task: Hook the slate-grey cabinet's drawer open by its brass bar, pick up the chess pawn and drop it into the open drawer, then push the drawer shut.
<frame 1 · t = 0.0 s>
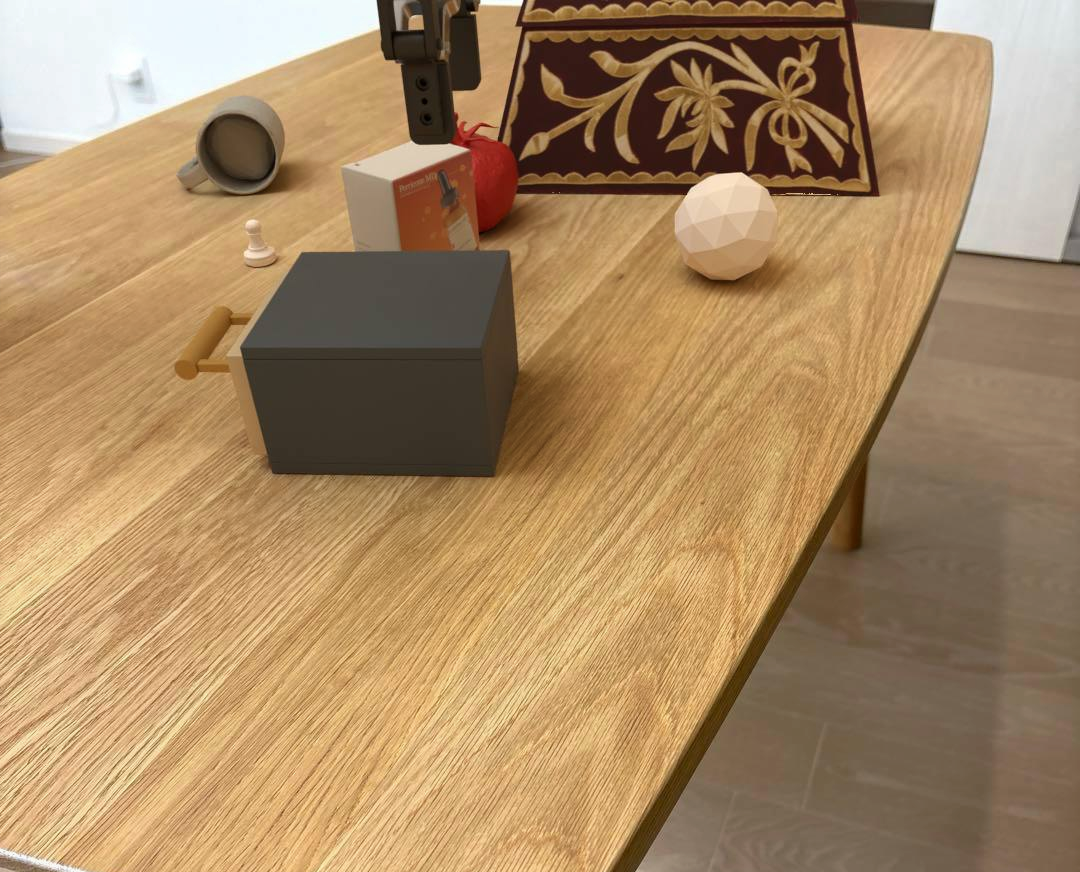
hand: (448, 114, 56), 19 cm above the table, tool pointing down, fingers open, 8 cm apart
small box: (424, 294, 83), on the table
chess pawn: (261, 263, 89), on the table
ceramic mug: (238, 184, 104), on the table
cabinet: (402, 418, 69), on the table
pomegranate: (465, 222, 94), on the table
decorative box: (683, 158, 103), on the table
drawer: (330, 359, 66), point 4 cm above the table, slide at 0.0 cm
geometric ball: (723, 276, 83), on the table
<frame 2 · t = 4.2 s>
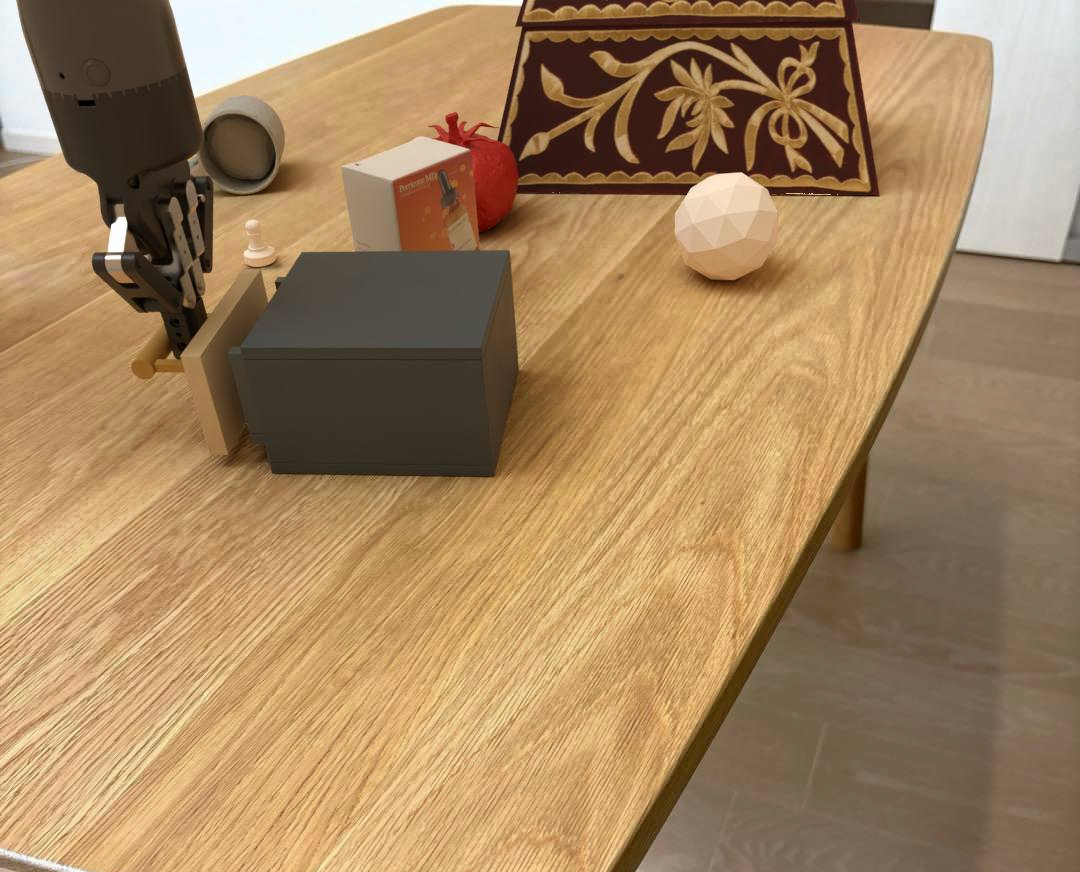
hand: (196, 356, 67), 4 cm above the table, tool pointing down, fingers closed
drawer: (288, 358, 67), point 4 cm above the table, slide at 2.7 cm, touching gripper
everything else where it was.
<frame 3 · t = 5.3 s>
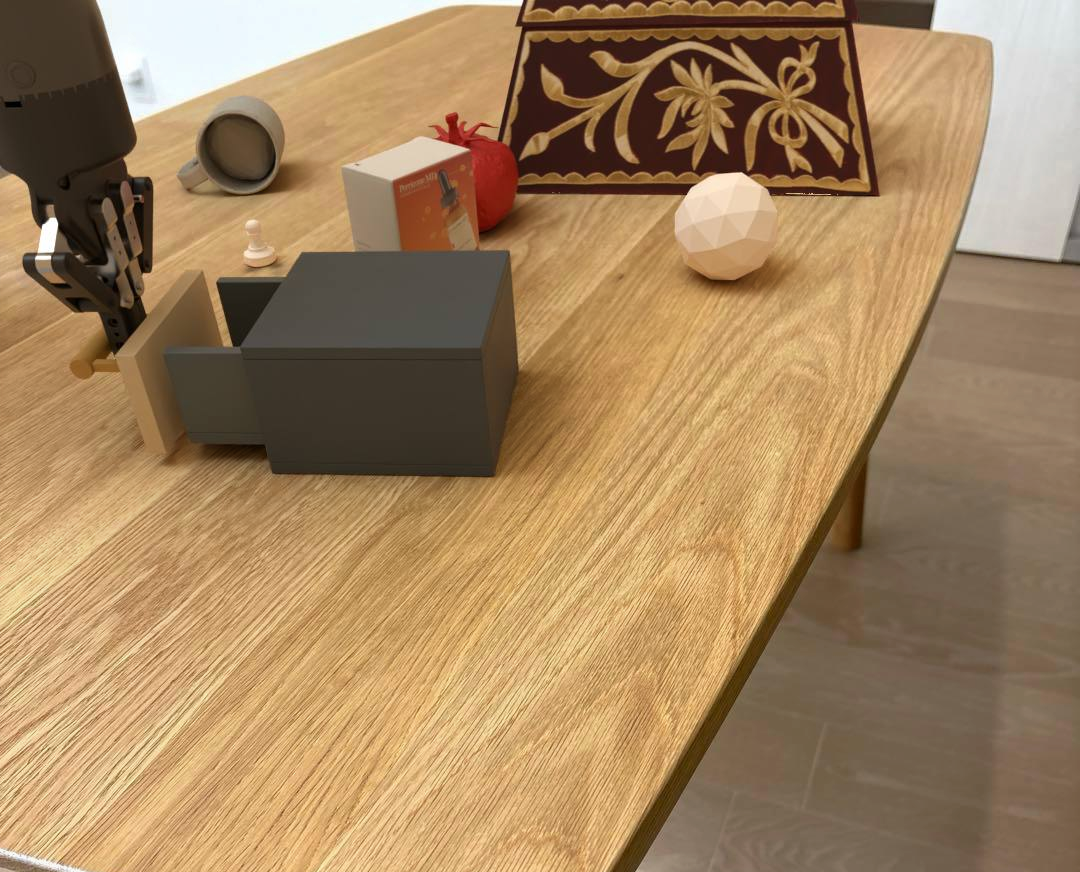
hand: (136, 355, 68), 4 cm above the table, tool pointing down, fingers closed
drawer: (228, 358, 67), point 4 cm above the table, slide at 6.6 cm, touching gripper
everything else where it was.
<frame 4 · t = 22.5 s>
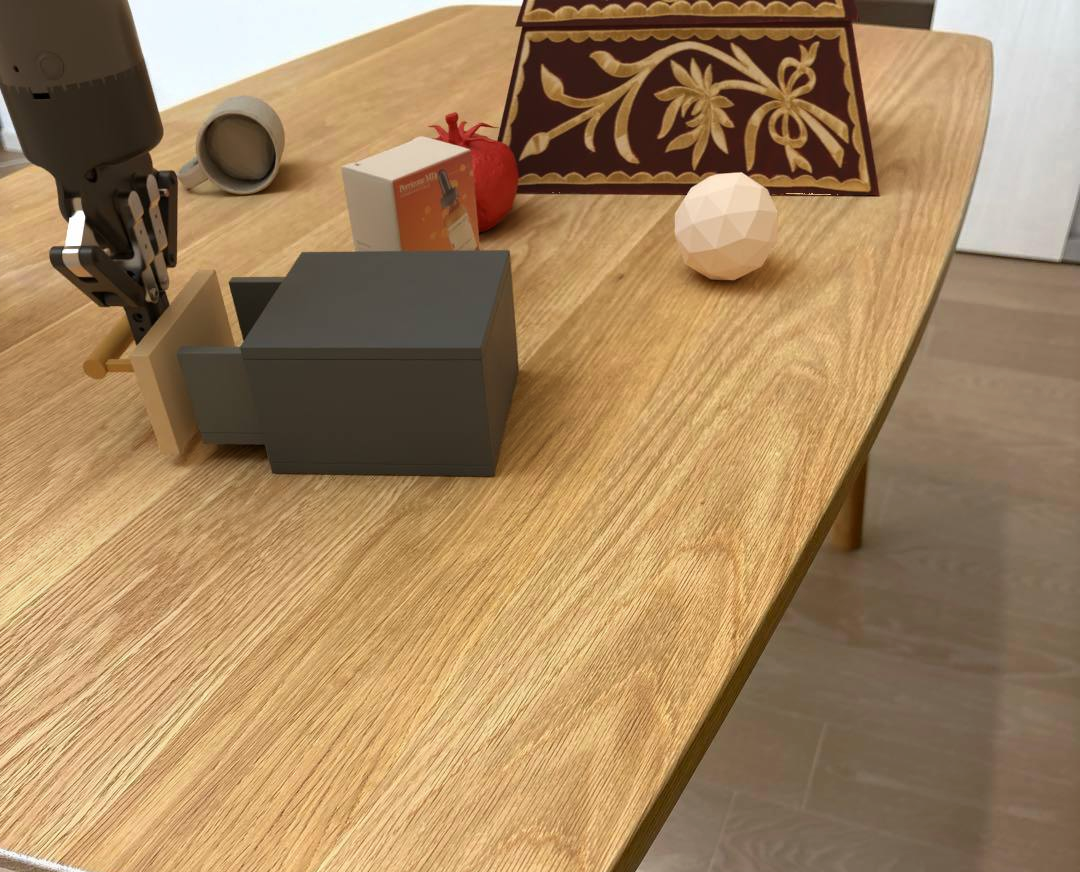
hand: (160, 350, 67), 5 cm above the table, tool pointing down, fingers closed
chess pawn: (262, 392, 69), point 2 cm above the table, touching drawer
drawer: (241, 358, 67), point 4 cm above the table, slide at 5.8 cm, touching chess pawn, gripper
everything else where it was.
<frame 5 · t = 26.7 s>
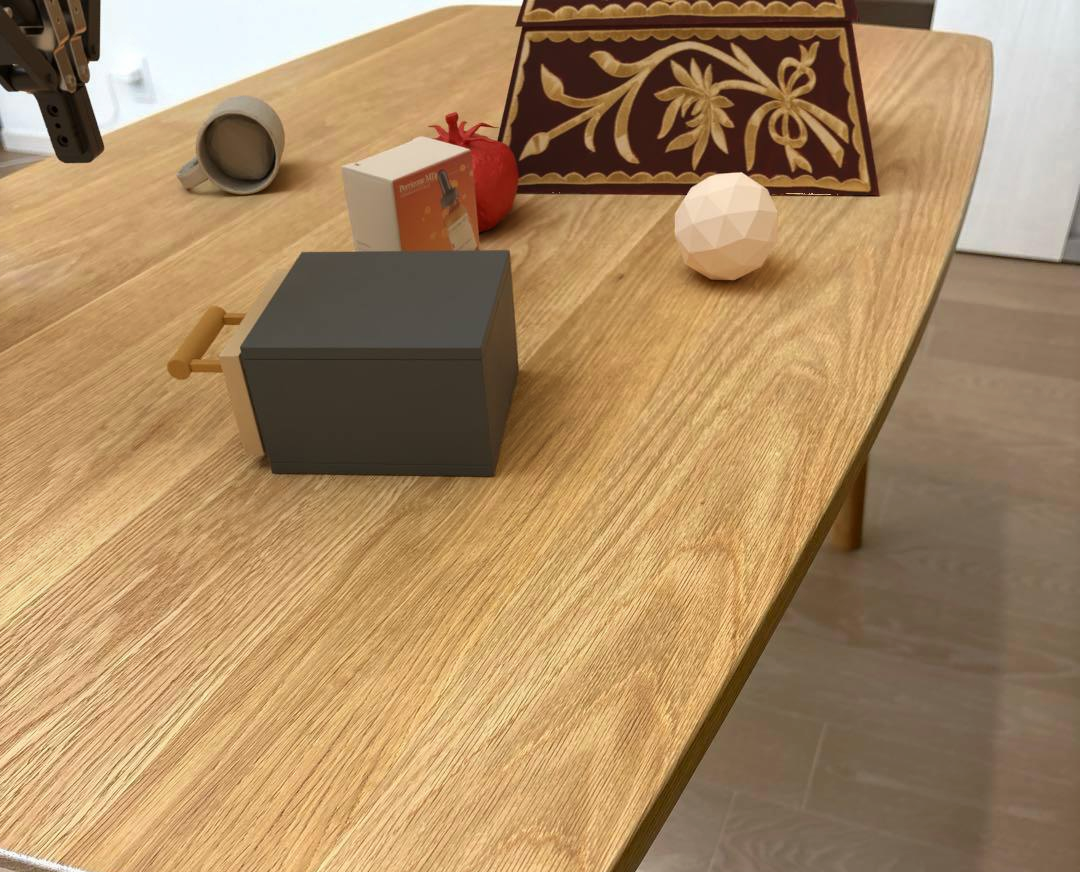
hand: (82, 158, 60), 17 cm above the table, tool pointing down, fingers closed
chess pawn: (342, 393, 68), point 2 cm above the table, touching drawer
drawer: (323, 359, 66), point 4 cm above the table, slide at 0.5 cm, touching chess pawn
everything else where it was.
at the end: drawer pulled out 7.4 cm at the most during the clip, back to 0.5 cm at the end; chess pawn inside the target area in the cabinet (3.7 cm from its centre), point 1.8 cm above the cabinet's base; drawer slide at 0.5 cm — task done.
